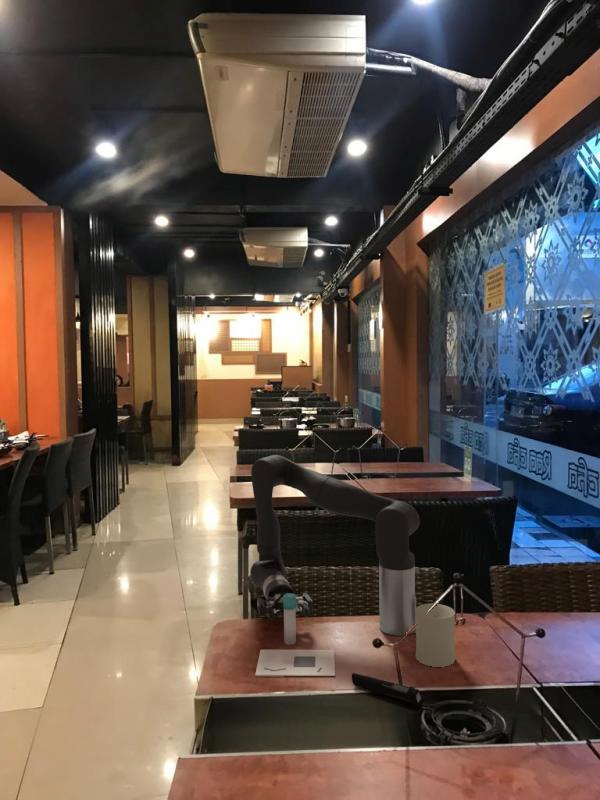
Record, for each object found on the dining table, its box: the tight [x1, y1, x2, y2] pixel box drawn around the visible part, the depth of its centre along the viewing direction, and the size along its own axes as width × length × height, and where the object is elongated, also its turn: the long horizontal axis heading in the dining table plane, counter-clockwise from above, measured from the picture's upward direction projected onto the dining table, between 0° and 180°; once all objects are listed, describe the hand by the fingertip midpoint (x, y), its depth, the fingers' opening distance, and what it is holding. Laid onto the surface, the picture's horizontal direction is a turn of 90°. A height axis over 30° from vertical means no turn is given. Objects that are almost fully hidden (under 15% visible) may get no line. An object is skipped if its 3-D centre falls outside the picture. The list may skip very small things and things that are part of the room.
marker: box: [283, 593, 297, 646], centre depth 152 cm, size 3×3×12 cm
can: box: [414, 603, 456, 668], centre depth 143 cm, size 9×9×12 cm
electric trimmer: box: [351, 672, 424, 707], centre depth 128 cm, size 4×16×3 cm, turn 60°
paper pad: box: [254, 649, 336, 677], centre depth 142 cm, size 18×12×1 cm, turn 88°
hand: (290, 615), depth 152 cm, fingers open, 8 cm apart
